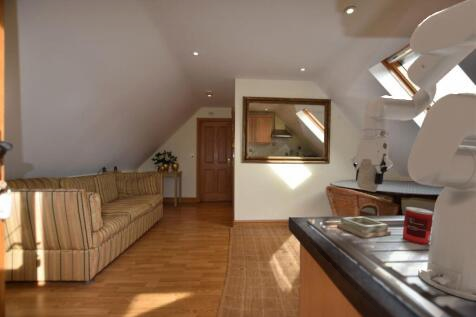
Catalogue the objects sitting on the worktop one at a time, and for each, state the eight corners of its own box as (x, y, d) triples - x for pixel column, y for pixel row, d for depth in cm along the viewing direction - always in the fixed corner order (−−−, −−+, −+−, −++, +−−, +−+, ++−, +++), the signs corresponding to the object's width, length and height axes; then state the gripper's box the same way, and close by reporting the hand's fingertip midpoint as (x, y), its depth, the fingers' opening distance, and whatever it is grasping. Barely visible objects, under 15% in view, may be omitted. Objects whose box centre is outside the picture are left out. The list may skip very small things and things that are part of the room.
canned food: (419, 237, 87) (423, 208, 86) (435, 246, 79) (439, 213, 78) (397, 235, 87) (400, 205, 87) (410, 243, 80) (414, 211, 79)
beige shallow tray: (365, 237, 81) (366, 227, 81) (337, 226, 92) (338, 217, 92) (390, 234, 88) (391, 225, 87) (361, 224, 98) (362, 215, 98)
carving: (381, 193, 85) (384, 159, 85) (357, 190, 87) (361, 158, 87) (376, 190, 91) (380, 159, 91) (355, 188, 93) (358, 157, 93)
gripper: (404, 135, 82) (398, 186, 83) (359, 136, 98) (355, 179, 99) (390, 133, 79) (384, 186, 80) (346, 134, 95) (342, 178, 95)
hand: (368, 182), depth 89 cm, fingers closed on carving, 7 cm apart
